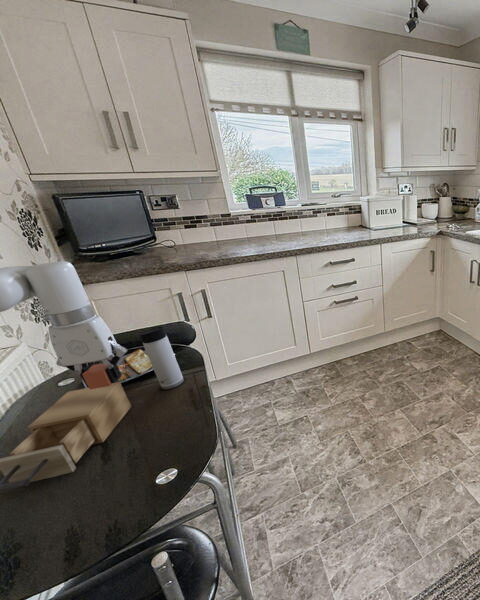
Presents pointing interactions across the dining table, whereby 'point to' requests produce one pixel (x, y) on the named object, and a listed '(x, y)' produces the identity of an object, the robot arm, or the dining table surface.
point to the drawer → (46, 453)
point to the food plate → (133, 365)
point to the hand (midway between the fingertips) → (104, 381)
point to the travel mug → (162, 357)
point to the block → (97, 376)
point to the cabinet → (88, 409)
